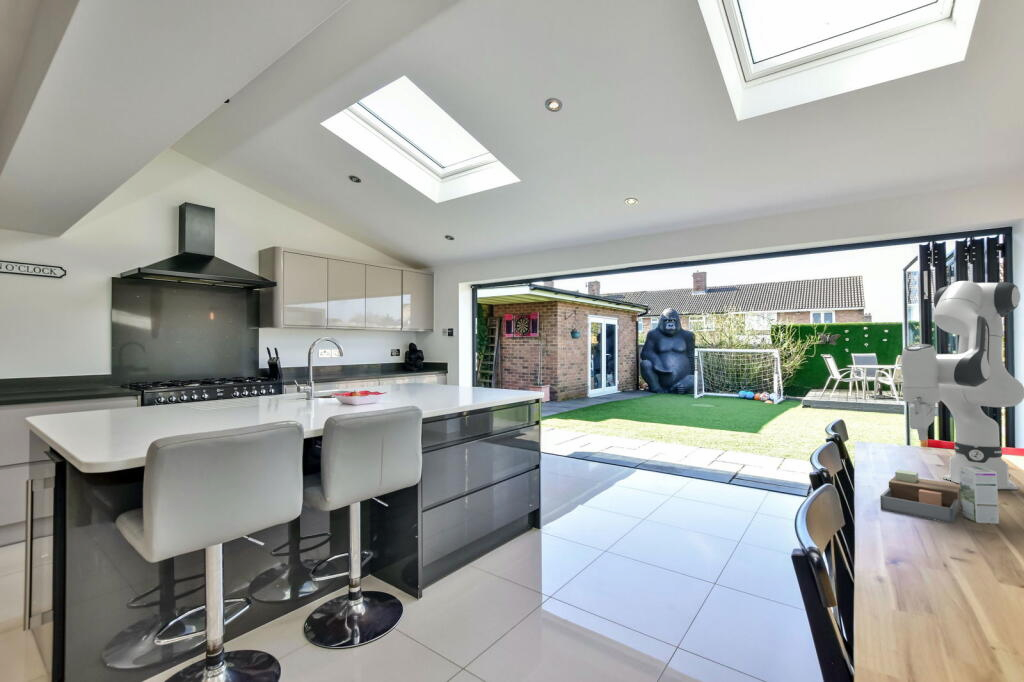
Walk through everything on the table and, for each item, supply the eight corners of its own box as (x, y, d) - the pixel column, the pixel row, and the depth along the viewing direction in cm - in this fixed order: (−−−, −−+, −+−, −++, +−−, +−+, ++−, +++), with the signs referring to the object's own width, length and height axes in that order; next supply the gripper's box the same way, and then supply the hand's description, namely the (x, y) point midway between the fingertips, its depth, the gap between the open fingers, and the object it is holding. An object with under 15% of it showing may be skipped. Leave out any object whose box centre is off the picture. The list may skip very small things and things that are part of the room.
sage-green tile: (898, 476, 155) (898, 469, 155) (918, 479, 151) (918, 472, 151) (895, 479, 152) (895, 472, 152) (915, 482, 148) (915, 475, 148)
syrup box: (1000, 524, 129) (998, 471, 129) (975, 523, 130) (973, 470, 130) (984, 517, 134) (982, 466, 134) (960, 515, 135) (958, 465, 136)
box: (889, 500, 149) (888, 488, 150) (958, 513, 137) (957, 499, 138) (880, 509, 141) (880, 496, 142) (953, 523, 129) (952, 508, 130)
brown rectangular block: (896, 492, 157) (896, 475, 157) (962, 504, 145) (961, 484, 146) (889, 500, 149) (888, 481, 150) (958, 513, 137) (957, 492, 138)
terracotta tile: (919, 489, 143) (918, 490, 141) (941, 492, 139) (941, 494, 138) (920, 505, 143) (919, 507, 141) (942, 509, 139) (941, 511, 138)
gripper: (929, 399, 138) (932, 447, 137) (938, 393, 151) (940, 436, 151) (902, 398, 142) (904, 444, 142) (913, 392, 156) (915, 434, 156)
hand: (923, 440), depth 147 cm, fingers closed
